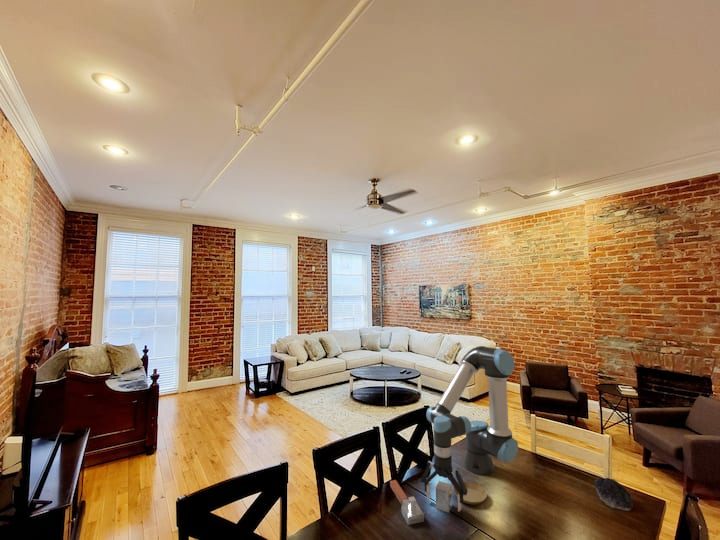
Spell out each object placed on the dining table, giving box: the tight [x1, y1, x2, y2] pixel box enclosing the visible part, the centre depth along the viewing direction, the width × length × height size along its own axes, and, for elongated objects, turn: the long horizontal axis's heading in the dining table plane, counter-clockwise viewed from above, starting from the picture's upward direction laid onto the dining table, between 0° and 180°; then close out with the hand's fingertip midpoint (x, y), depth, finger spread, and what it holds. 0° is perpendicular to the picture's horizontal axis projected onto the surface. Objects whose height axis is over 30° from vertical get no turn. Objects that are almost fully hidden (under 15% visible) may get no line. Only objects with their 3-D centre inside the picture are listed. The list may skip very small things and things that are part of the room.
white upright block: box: [435, 480, 453, 514], centre depth 139 cm, size 6×6×9 cm
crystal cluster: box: [593, 477, 634, 511], centre depth 142 cm, size 13×14×10 cm
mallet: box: [389, 479, 425, 526], centre depth 142 cm, size 26×7×8 cm, turn 15°
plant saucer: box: [452, 481, 488, 506], centre depth 145 cm, size 15×15×3 cm
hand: (443, 504), depth 138 cm, fingers open, 13 cm apart
